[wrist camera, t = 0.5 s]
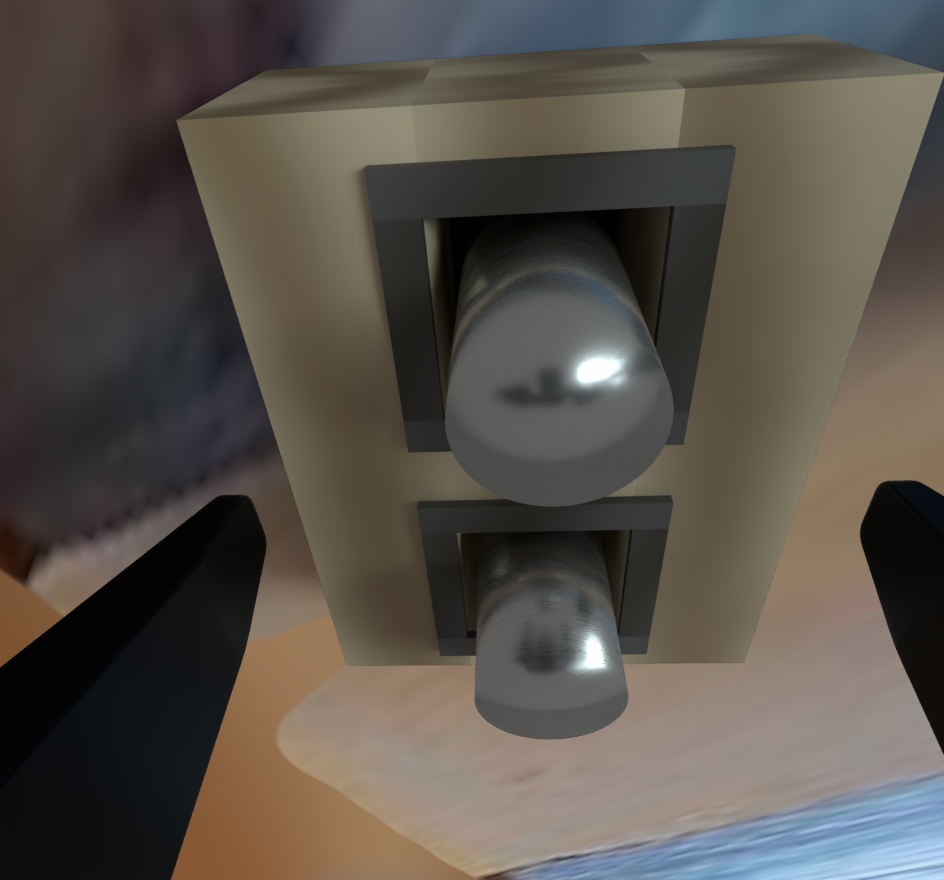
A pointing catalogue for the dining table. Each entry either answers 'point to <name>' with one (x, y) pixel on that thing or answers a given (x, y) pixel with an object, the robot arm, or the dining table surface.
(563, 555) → the peg
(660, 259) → the jig block
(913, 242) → the dining table surface
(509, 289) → the peg
